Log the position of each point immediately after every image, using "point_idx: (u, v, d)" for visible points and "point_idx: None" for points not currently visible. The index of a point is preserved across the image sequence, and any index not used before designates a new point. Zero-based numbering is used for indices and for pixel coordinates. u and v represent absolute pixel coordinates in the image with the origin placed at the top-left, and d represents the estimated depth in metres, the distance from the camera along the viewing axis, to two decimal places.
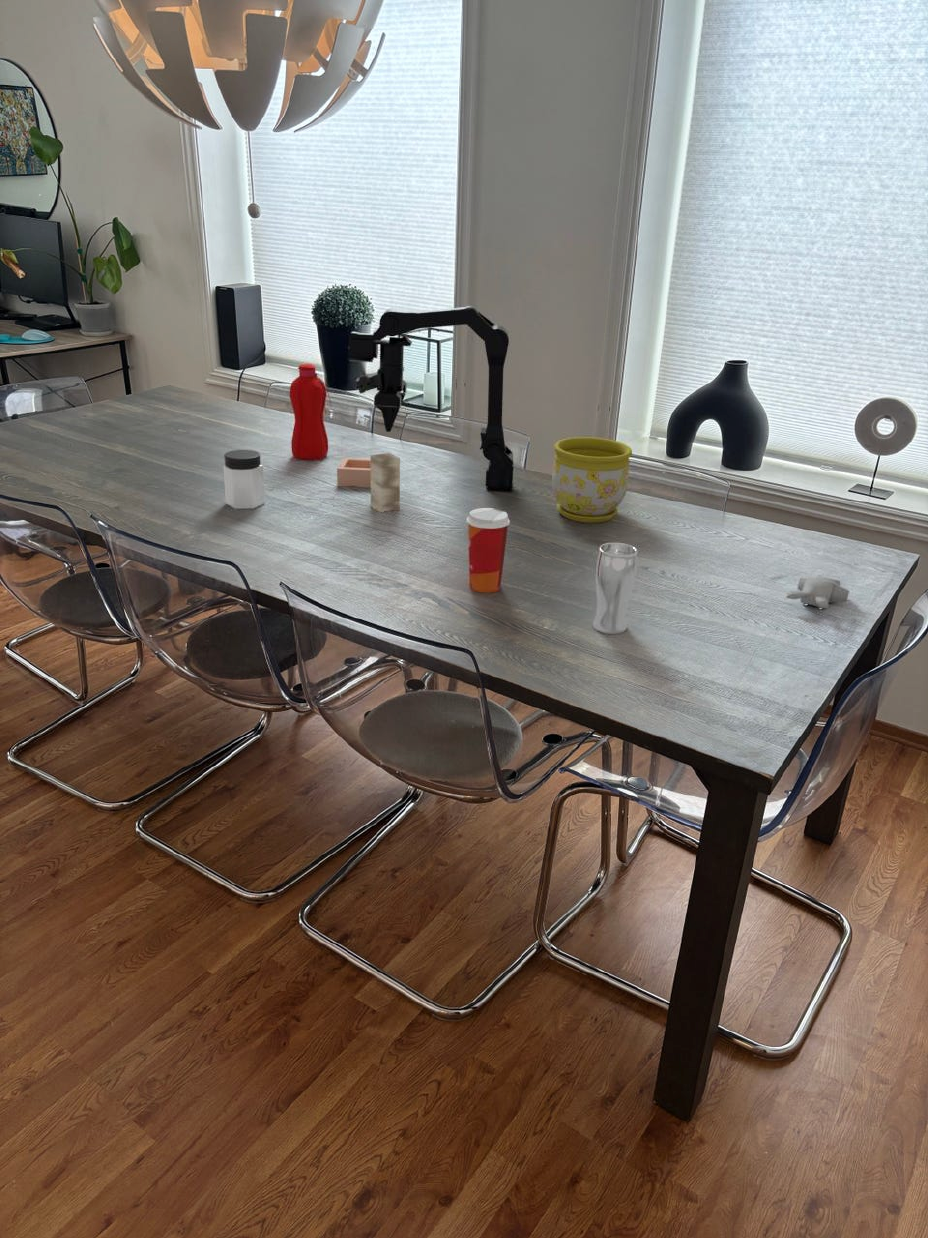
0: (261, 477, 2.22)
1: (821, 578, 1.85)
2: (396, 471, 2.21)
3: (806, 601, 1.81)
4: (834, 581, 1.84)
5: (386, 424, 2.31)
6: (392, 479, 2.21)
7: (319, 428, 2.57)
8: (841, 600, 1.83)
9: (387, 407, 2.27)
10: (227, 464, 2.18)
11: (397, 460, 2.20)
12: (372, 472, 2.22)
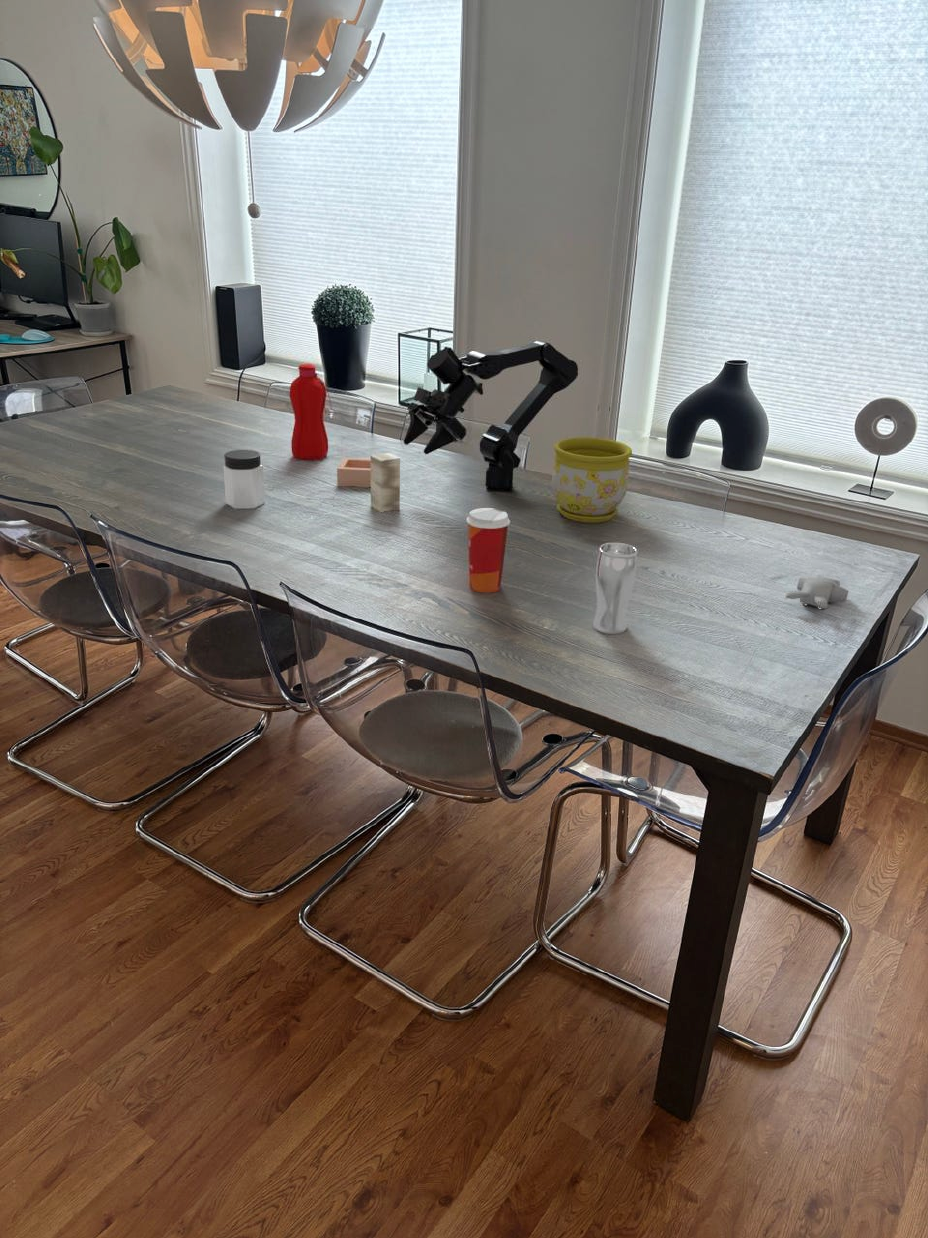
0: (261, 477, 2.22)
1: (820, 578, 1.85)
2: (396, 471, 2.21)
3: (805, 601, 1.81)
4: (833, 581, 1.84)
5: (430, 446, 2.20)
6: (392, 479, 2.21)
7: (319, 428, 2.57)
8: (840, 600, 1.83)
9: (450, 434, 2.19)
10: (227, 464, 2.18)
11: (397, 460, 2.20)
12: (372, 472, 2.22)
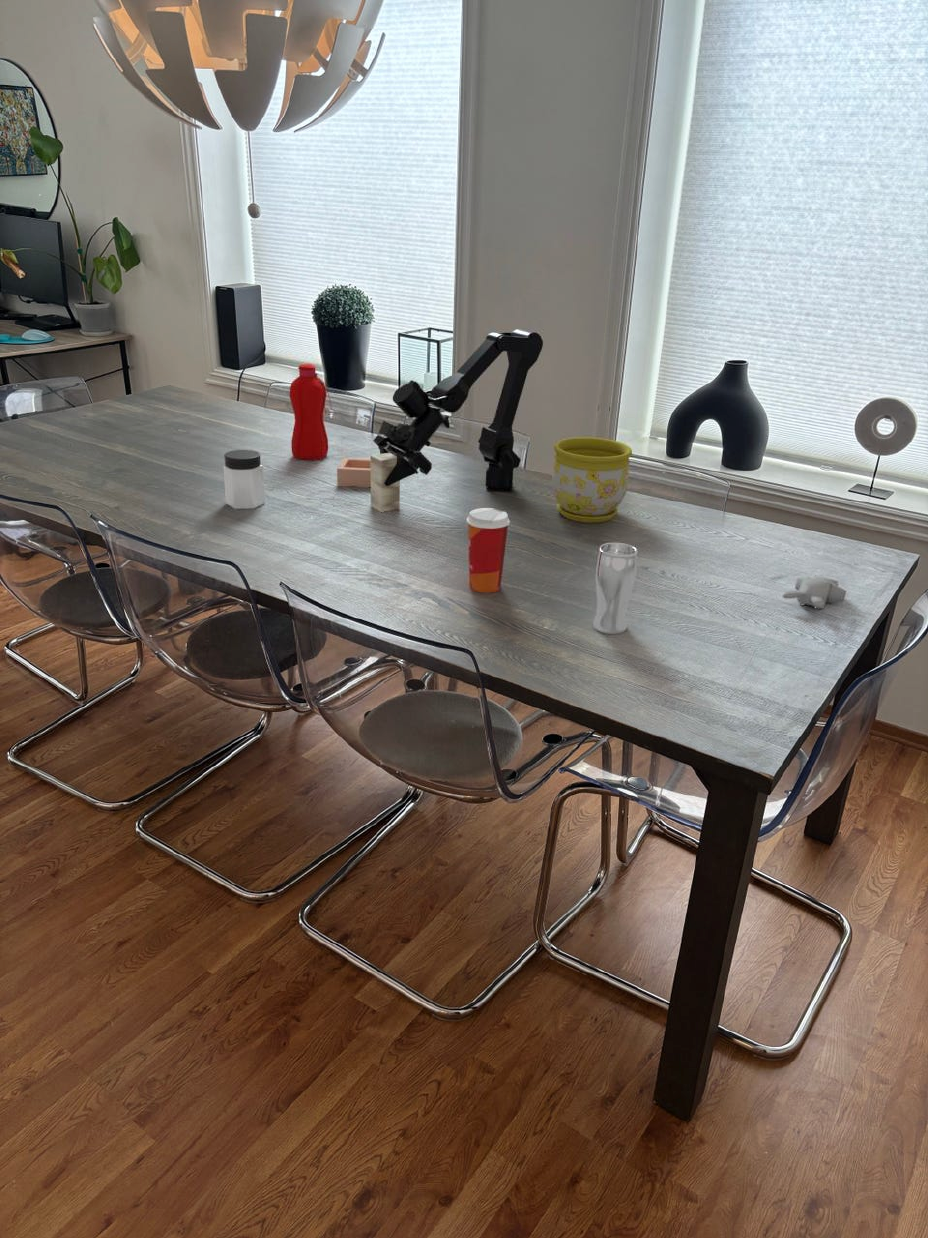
0: (261, 477, 2.22)
1: (818, 578, 1.85)
2: None
3: (802, 601, 1.81)
4: (831, 581, 1.84)
5: (391, 478, 2.19)
6: None
7: (319, 428, 2.57)
8: (838, 600, 1.83)
9: (411, 466, 2.18)
10: (227, 464, 2.18)
11: None
12: (372, 472, 2.22)
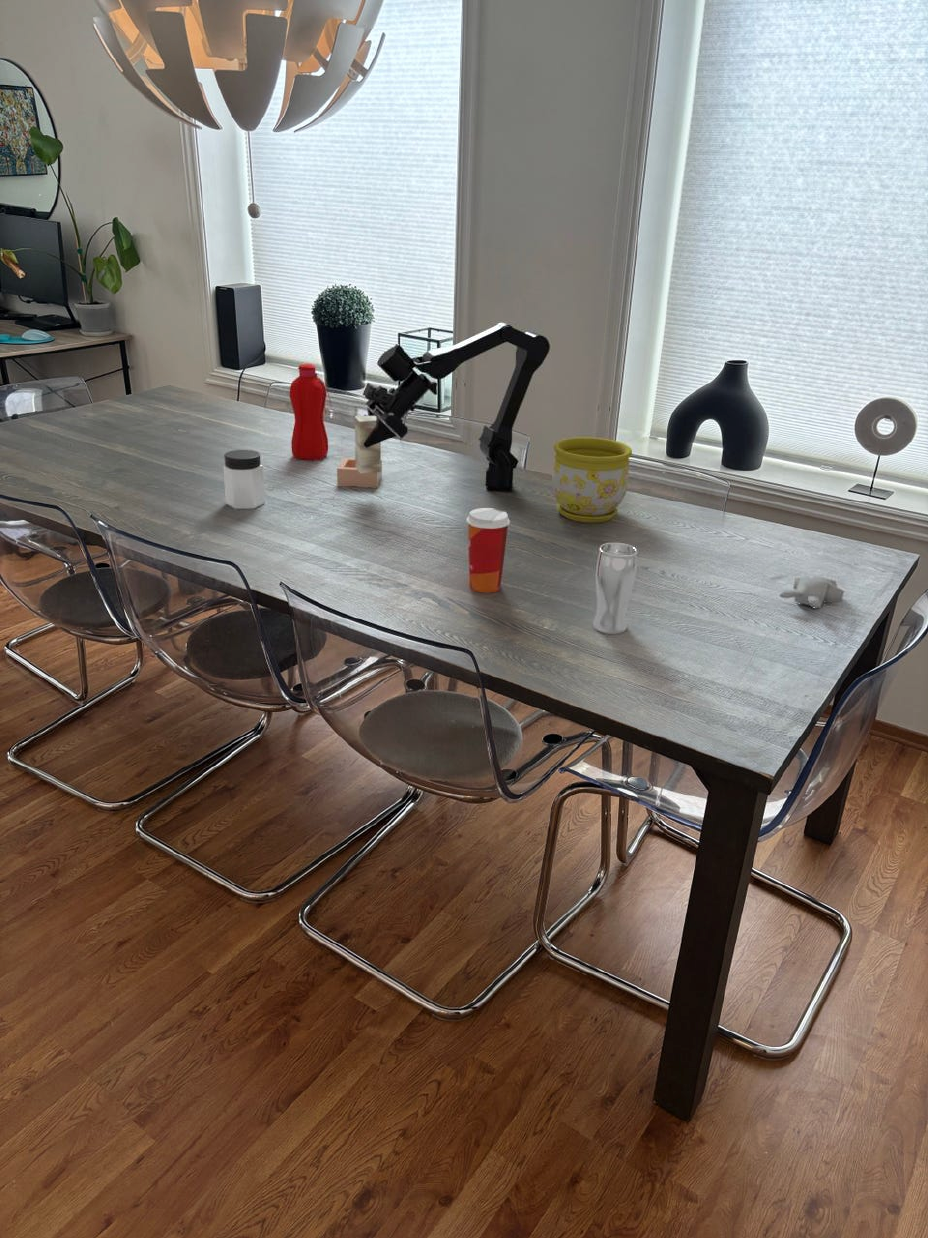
0: (261, 477, 2.22)
1: (817, 578, 1.85)
2: None
3: (800, 600, 1.82)
4: (829, 581, 1.84)
5: (369, 440, 2.23)
6: None
7: (319, 428, 2.57)
8: (836, 600, 1.83)
9: (388, 429, 2.20)
10: (227, 464, 2.18)
11: None
12: (356, 433, 2.26)
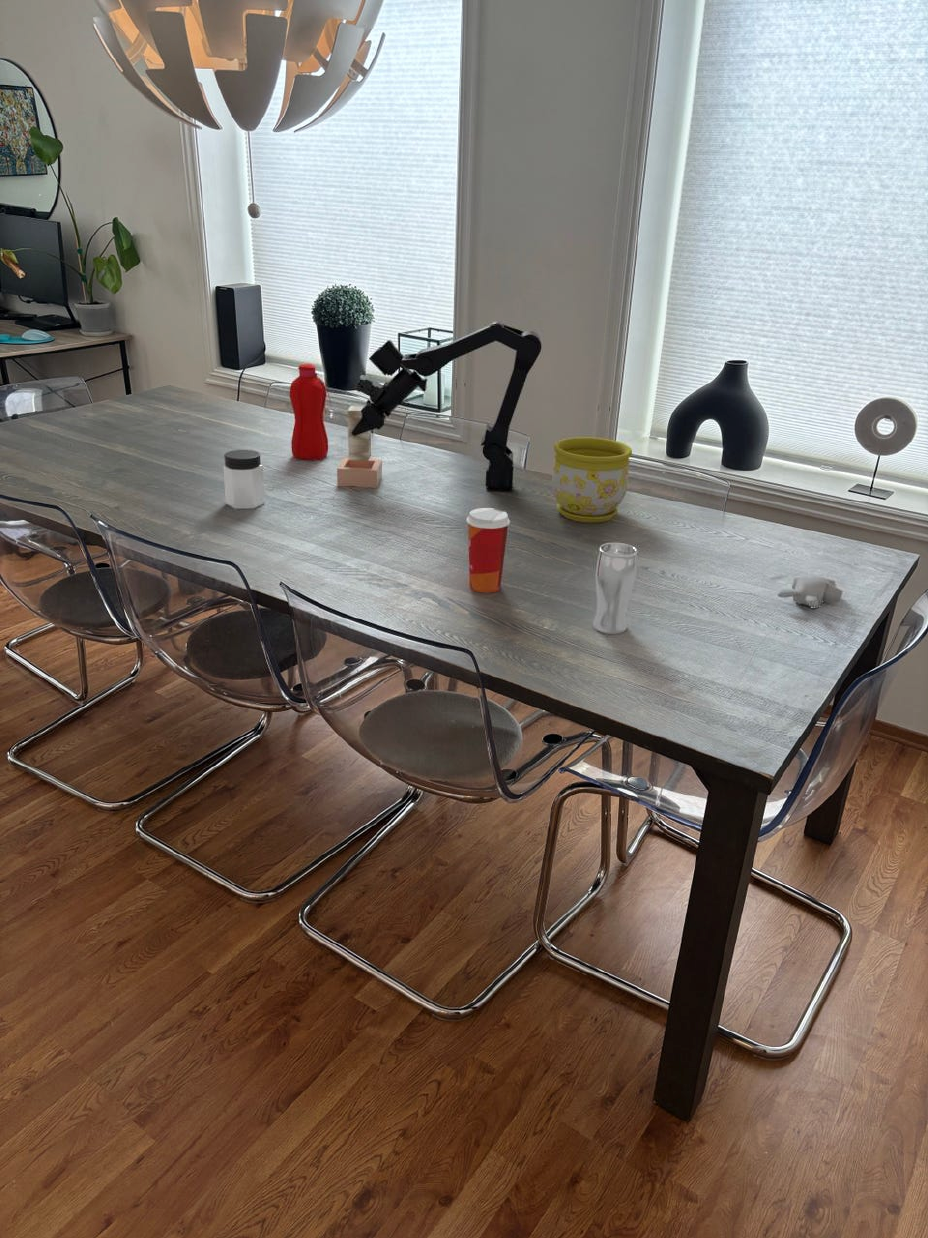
0: (261, 477, 2.22)
1: (815, 578, 1.85)
2: None
3: (798, 600, 1.82)
4: (828, 581, 1.84)
5: (356, 428, 2.35)
6: None
7: (319, 428, 2.57)
8: (834, 600, 1.83)
9: None
10: (227, 464, 2.18)
11: None
12: None
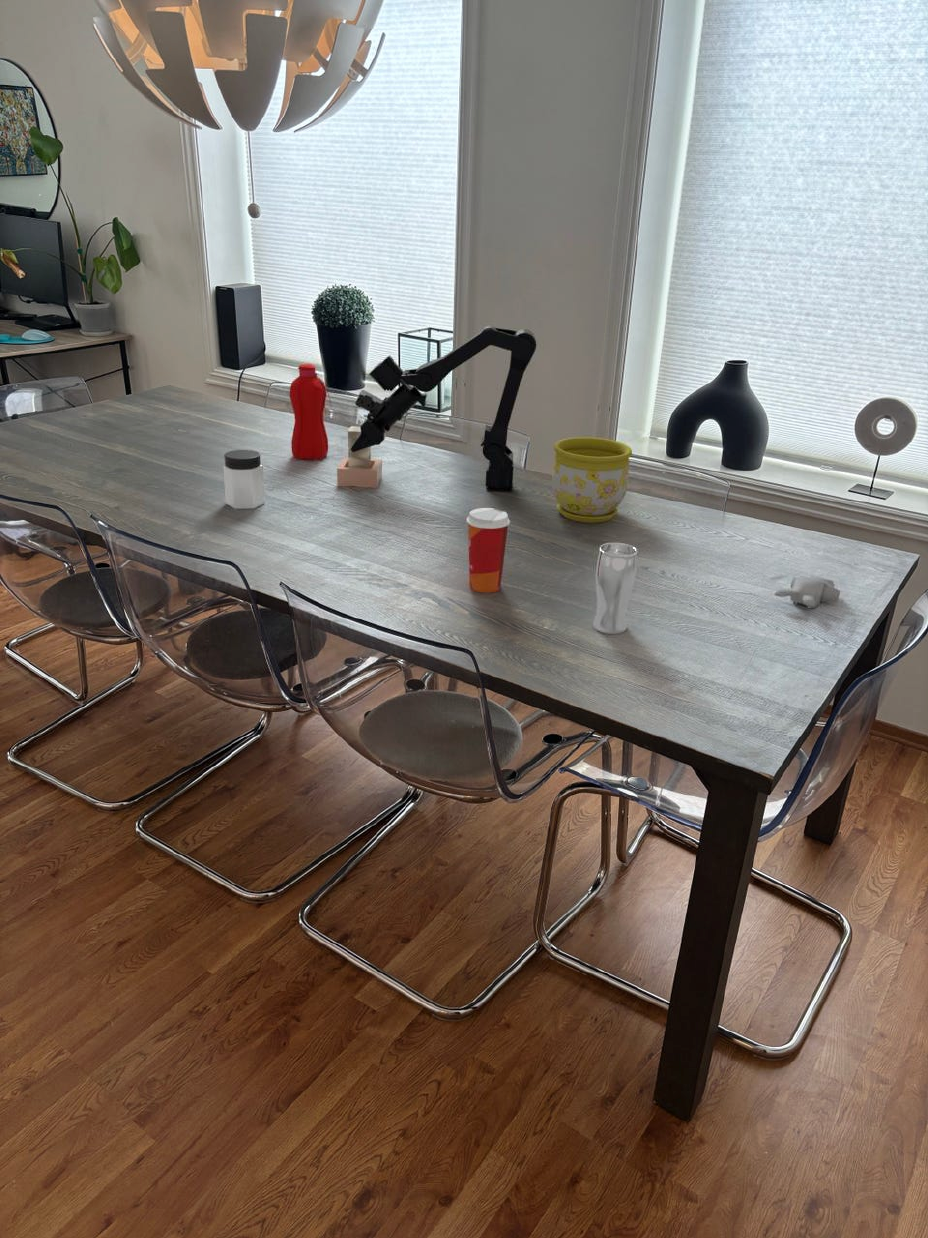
0: (261, 477, 2.22)
1: (814, 577, 1.86)
2: None
3: (795, 599, 1.82)
4: (826, 581, 1.84)
5: (355, 445, 2.35)
6: (360, 451, 2.38)
7: (319, 428, 2.57)
8: (832, 600, 1.83)
9: (368, 436, 2.31)
10: (227, 464, 2.18)
11: None
12: None
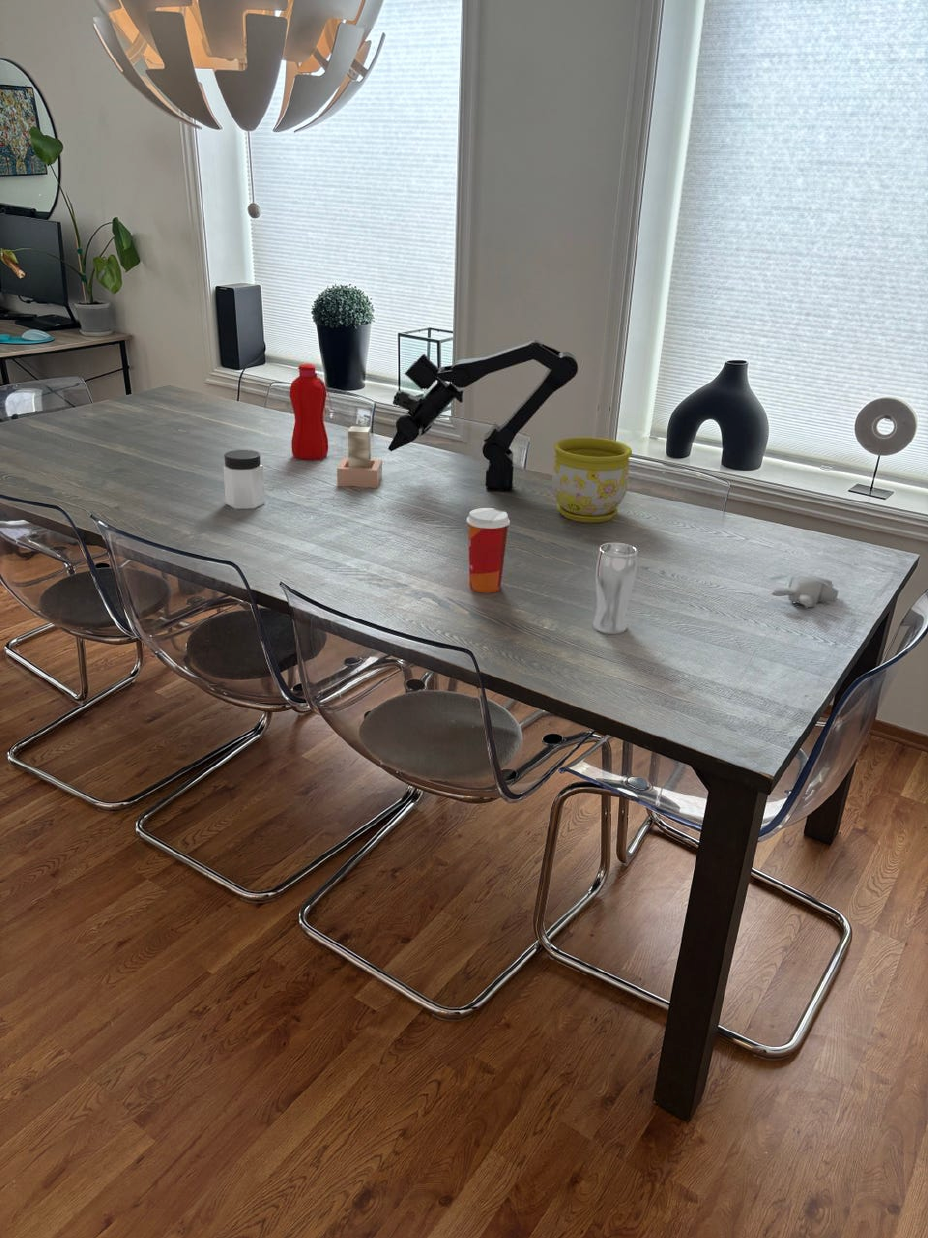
0: (261, 477, 2.22)
1: (812, 577, 1.86)
2: (364, 444, 2.37)
3: (793, 599, 1.82)
4: (824, 581, 1.84)
5: (392, 443, 2.34)
6: (360, 451, 2.38)
7: (319, 428, 2.57)
8: (830, 600, 1.83)
9: (403, 432, 2.30)
10: (227, 464, 2.18)
11: (365, 433, 2.36)
12: None
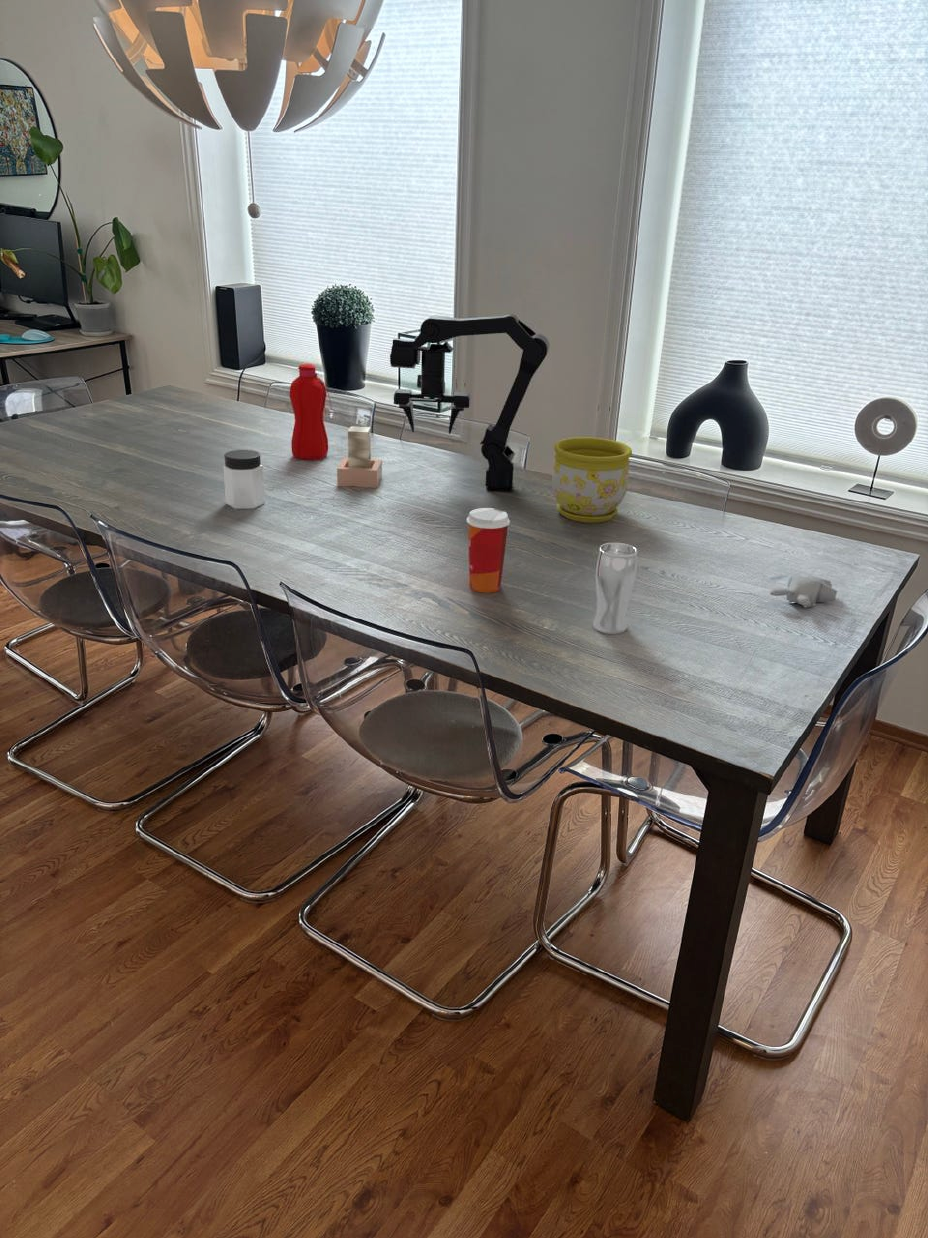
0: (261, 477, 2.22)
1: (811, 577, 1.86)
2: (364, 444, 2.37)
3: (791, 599, 1.82)
4: (823, 581, 1.84)
5: None
6: (360, 451, 2.38)
7: (319, 428, 2.57)
8: (828, 600, 1.83)
9: None
10: (227, 464, 2.18)
11: (365, 433, 2.36)
12: None
